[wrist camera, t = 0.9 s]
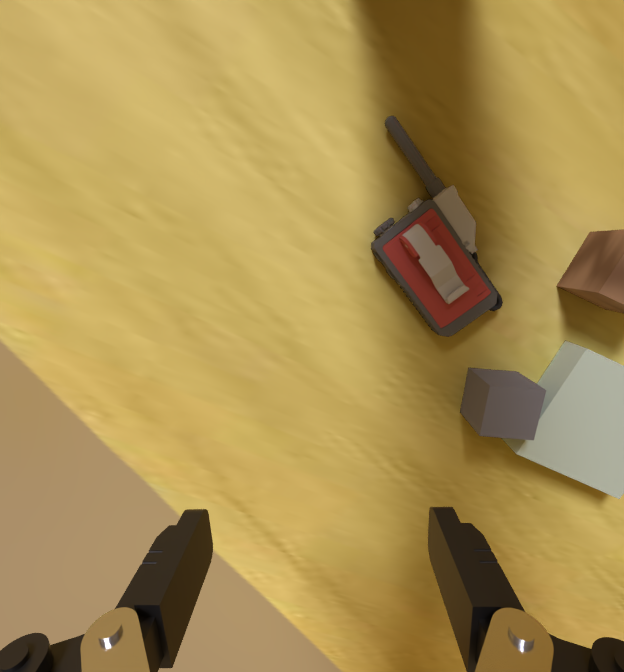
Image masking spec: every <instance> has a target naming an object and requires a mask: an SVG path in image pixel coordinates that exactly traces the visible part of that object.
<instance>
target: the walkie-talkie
mask: <svg viewBox="0 0 624 672" xmlns="http://www.w3.org/2000/svg"><path fill="white" fill-rule="evenodd" d="M385 126H386V128H387V129H388V131H389V132H390V134H391V135H392V137H393V138H394V139H395V141H396V142H397V144H398V145H399V147H400V148H401V150H402V151H403V153H404V154H405V156H406V157H407V159H408V160H409V161H410V163H411V164H412V166H413V167H414V169H415V170H416V172H417V173H418V175H419V176H420V178H421V179H422V180H423V182H424V183H425V185H426V189H427V191H428V192H429V194H430V195H431V196H432V198H433V199H432V200H430V199H428V200H426V201H424V202H423V200H422V201H421V200H420V199H419V198H417V199H416V200H415V201H413V202H412V203H411V205H409V206H408V207H407V208H408V209H409V213H408V214H407V215H405V216H404V217H403V218H402V219H401V220H399V221H398V222H397V223H396V224H394V220H393V218H389V219H388V220H387V221H385V222H384V223H383V224H381V225H380V226H379V227H378V228H377V229H376V230H374V234H375V235H376V236H378V235H379V237H378V238H377V239H376V240H374V241H373V242H372V243H371V249H372V250H373V252H374V253H373V254H374V255H375V257H376V258H377V259H378V261H381V262H382V264H383V265H384V266H385V268H386V271H387V273H388V274H389V275H390V277H391V278H392V279H394V280H395V281H396V283H397V284H399V285H400V288H401V289H403V290H404V291H403V292H404V293H406V294H407V295H406V296H407V297H408V298H410V301H411V302H413V305H414V306H415V307H416V309H417V310H418V311H419V313H420V314H421V315H422V317H423V318H424V319H425V322H426V323H428V324H429V325H428V326H429V327H431V328H432V329H431V330H433V331H434V332H435V333H437V334H438V335H442V336H447V337H449V336H452V335H453V334H455V333H457V332H458V331H459V330H461V329H462V328H464V327H465V326H466V325H468V324H469V323H471V322H472V321H473V320H475V319H476V318H478V317H479V316H480V315H482V314H483V313H485V312H486V311H488V310H490V311H495V310H498V309H500V308H501V306H502V303H503V302H502V298H501V296H500V294H499V293H498V291H497V290H496V288H495V287H494V286H493V284H492V283H491V281H490V280H489V278H488V277H487V275H486V274H485V272H484V271H483V269H482V268H481V266H480V265H479V263H478V260H477V254H476V251H477V250H478V249H477V248H476V246H475V233H476V221H475V220H474V218H473V217H472V215H471V214H470V212H469V211H468V209H467V208H466V206H465V205H464V203H463V202H462V200H461V199H460V197H459V196H458V191H457V189H456V188H455V186H454V185H452V186H450V187H448V188H445V186H444V185H443V183H442V182H441V180H440V179H439V178H436V176H435V175H434V173H433V172H432V170H431V169H430V167H429V166H428V164H427V163H426V162H425V160H424V159H423V157H422V156H421V154H420V153H419V151H418V150H417V148H416V147H415V145H414V144H413V142H412V141H411V139H410V138H409V137H408V135H407V134H406V132H405V131H404V129H403V128H402V126H401V125H400V123H399V122H398V120H397V119H396V117H394V116H389V117H388V118H387V119H386V121H385ZM393 224H394V225H393Z"/></svg>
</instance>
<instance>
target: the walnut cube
mask: <svg viewBox="0 0 624 672" xmlns="http://www.w3.org/2000/svg"><path fill="white" fill-rule="evenodd" d="M557 287H560V288H562V289H564V290H566V291H568V292H570V293H572V294H574V295H576V296H578V297H581V298H583V299H585V300H587V301H589V302H591V303H593V304H595V305H597V306H600V307H602V308H604V309H606V310H611V311H616V312H621V313H624V230H611V231H597V232H590V233H589V234H588V236H587V238H586V239H585V241H584V242H583V244H582V246H581V247H580V249H579V251H578V252H577V254H576V255H575V257H574V259H573V260H572V262H571V263H570V265H569V267H568V268H567V270H566V272H565V273H564V275H563V276H562V278H561V280H560V281H559V283H558V284H557Z"/></svg>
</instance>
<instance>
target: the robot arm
mask: <svg viewBox="0 0 624 672" xmlns="http://www.w3.org/2000/svg"><path fill="white" fill-rule="evenodd" d="M428 550H429V556H430V561H431V564H432V567H433V570H434V573H435V576H436V579H437V582H438V585H439V588H440V591H441V595H442V598H443V601H444V604H445V607H446V610H447V613H448V616H449V619H450V622H451V625H452V628H453V631H454V634H455V637H456V640H457V643H458V646H459V649H460V652H461V655H462V658H463V661H464V664H465V667H466V670H467V672H624V641H621V640H619V639H615V638H609V637H603V638H599V639H597V640H596V641H595V642H594V643H593V646H592V649H589V648H586V647H583V646H580V645H577V644H574V643H570V642H567V641H564V640H561V639H559V638H556V637H554V636H552V635H550V634H549V633H548V632H547V631H546V629H545V628H544V627H543V626H542V625H541V623H539V622H538V621H537V620H536V619H535V618H533V617H532V616H531V615H529V614H527V613H526V612H525V611H524V609H523V607H522V605H521V604H520V602H519V600H518V598H517V596H516V594H515V592H514V591H513V589H512V587H511V585H510V583H509V581H508V580H507V578H506V576H505V574H504V572H503V570H502V569H501V567H500V565H499V564H498V563H497V559H496V557H495V556H494V554H493V552H491V548H490V546H489V545H488V543H487V541H486V539H485V537H484V535H483V534H482V533H481V532H480V531H479V530H477V529H476V528H475V527H474V526H473V525H472V524H471V523H460V521H459V519H458V516H457V514H456V512H455V510H454V509H453V507H430V509H429V529H428ZM212 553H213V542H212V535H211V528H210V521H209V514H208V511H207V510H206V509H193V510H185V511H184V512H183V514H182V516H181V518H180V520H179V521H178V523H177V525H171V526H168V527H167V528H166V529H165V530H164V531H163V532H162V533H161V534H160V535H159V536H157V538H156V539H155V541H154V543H153V544H152V546H151V548H150V550H149V553H147V555H146V557H145V558H144V560H143V563H142V565H140V567H139V569H138V570H137V572H136V574H135V575H134V577H133V579H132V581H131V582H130V584H129V586H128V588H127V589H126V591H125V593H124V595H123V596H122V598H121V600H120V601H119V603H118V605H117V606H116V608H115V609H114V610H111V611H109V612H107V613H105V614H104V615H102V616H101V617H100V618H98V619H97V620H96V621H95V622H94V623H93V624H92V625H91V626H90V628H89V629H88V630H87V632H86V633H85V634H83V635H81V636H78V637H75V638H72V639H68V640H65V641H62V642H59V643H56V644H53V645H50V644H49V641H48V638H47V637H46V636H45V635H44V634H41V633H32V634H28V635H25V636H23V637H20V638H19V639H16V640H15V641H13V642H11V643H10V644H8V645H7V646H6V647H4V648H3V649H2V650H1V651H0V672H158V670H159V668H172V667H173V664H174V662H175V659H176V656H177V653H178V651H179V648H180V645H181V642H182V640H183V637H184V634H185V631H186V629H187V626H188V623H189V621H190V618H191V615H192V612H193V610H194V607H195V604H196V601H197V599H198V596H199V593H200V590H201V587H202V585H203V582H204V580H205V577H206V574H207V571H208V568H209V566H210V563H211V559H212Z"/></svg>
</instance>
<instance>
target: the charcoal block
mask: <svg viewBox="0 0 624 672" xmlns="http://www.w3.org/2000/svg"><path fill="white" fill-rule="evenodd" d="M545 394H546V390H545V389H544V388H542V387H540V386H539V385H537V384H536V383H534V382H533V381H531V380H530V379H528V378H526V377H525V376H523V375H522V374H520V373H519V372H516V371H503V370H491V369H478V368H468V372H467V378H466V383H465V388H464V394H463V399H462V404H461V410H460V413H461V414H462V415H463V416H464V418H465V419H466V420H467V421H468V422H469V424H470V425H471V426H472V427H473V428H474V430H475V431H476V432H477V433H478V435H479V436H487V437H499V438H511V439H523V440H534V438H535V434H536V430H537V426H538V422H539V418H540V414H541V410H542V406H543V402H544V398H545Z"/></svg>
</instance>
